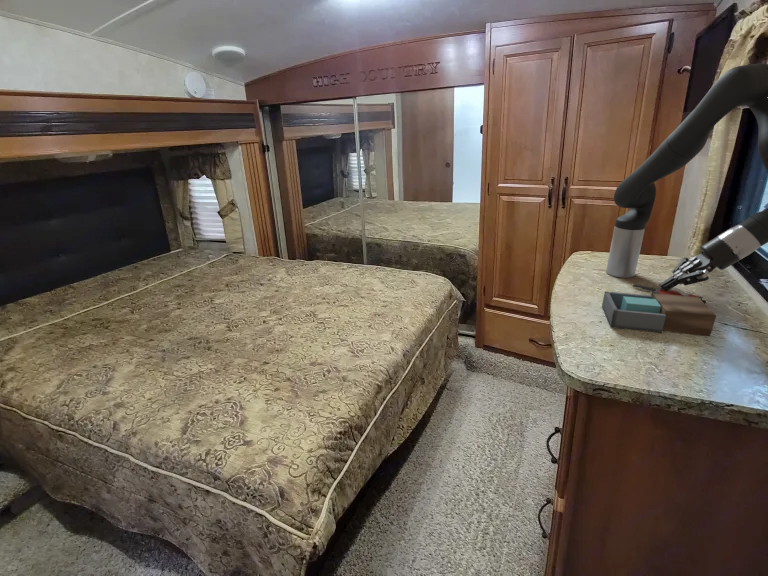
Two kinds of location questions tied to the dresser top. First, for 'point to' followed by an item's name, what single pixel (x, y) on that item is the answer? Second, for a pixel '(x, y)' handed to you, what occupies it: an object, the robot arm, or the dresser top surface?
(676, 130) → the robot arm
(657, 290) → the walkie-talkie
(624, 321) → the box
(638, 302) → the block
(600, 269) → the dresser top surface
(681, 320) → the brown box
